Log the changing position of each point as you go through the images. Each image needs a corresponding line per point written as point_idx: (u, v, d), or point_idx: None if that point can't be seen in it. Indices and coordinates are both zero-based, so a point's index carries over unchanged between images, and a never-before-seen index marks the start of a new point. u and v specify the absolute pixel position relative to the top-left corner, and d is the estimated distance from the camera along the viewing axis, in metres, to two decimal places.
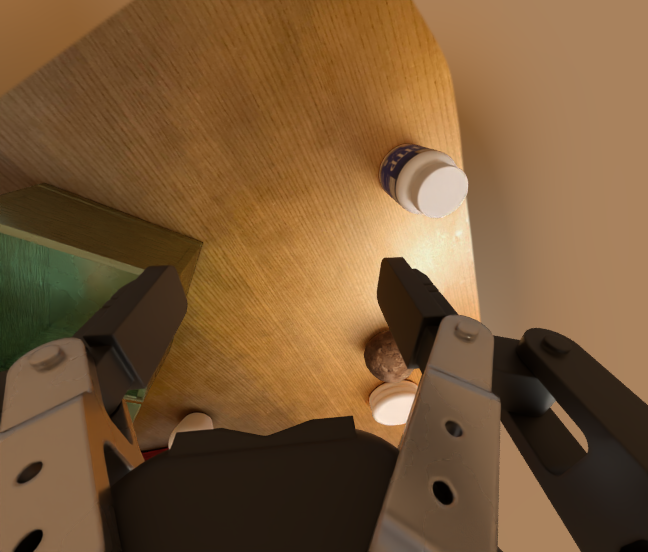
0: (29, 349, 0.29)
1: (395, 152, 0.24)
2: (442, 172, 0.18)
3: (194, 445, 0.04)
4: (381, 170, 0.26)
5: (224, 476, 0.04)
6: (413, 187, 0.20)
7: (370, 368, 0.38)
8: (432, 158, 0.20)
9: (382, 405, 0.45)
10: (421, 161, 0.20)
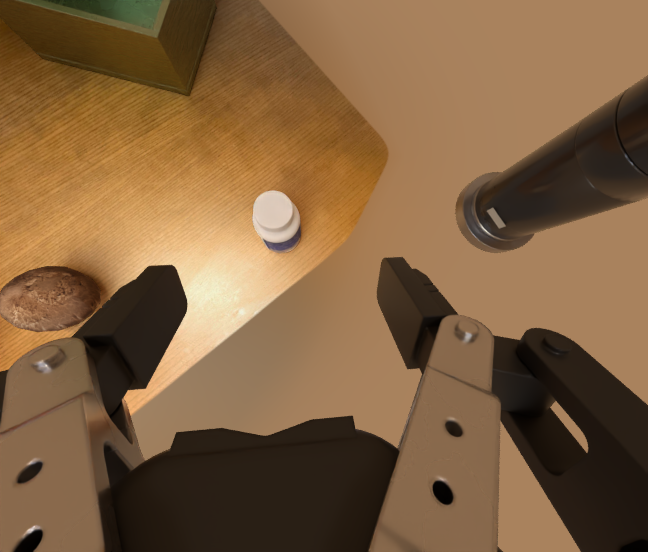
0: None
1: None
2: (287, 201, 0.25)
3: (194, 444, 0.04)
4: None
5: (224, 476, 0.04)
6: None
7: (28, 271, 0.27)
8: (294, 209, 0.28)
9: None
10: None
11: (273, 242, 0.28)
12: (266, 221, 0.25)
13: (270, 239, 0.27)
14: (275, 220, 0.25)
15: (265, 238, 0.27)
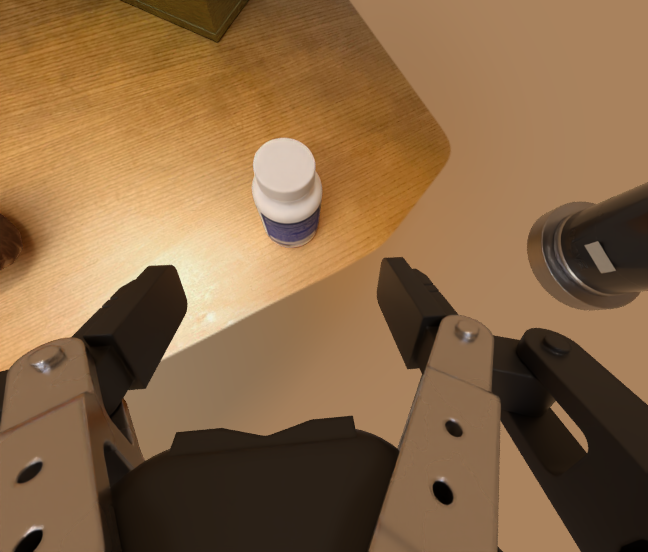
0: None
1: None
2: (308, 157, 0.16)
3: (194, 445, 0.04)
4: None
5: (224, 476, 0.04)
6: None
7: None
8: (316, 178, 0.18)
9: None
10: None
11: (275, 221, 0.18)
12: (269, 179, 0.16)
13: (271, 214, 0.18)
14: (284, 180, 0.16)
15: (264, 211, 0.18)
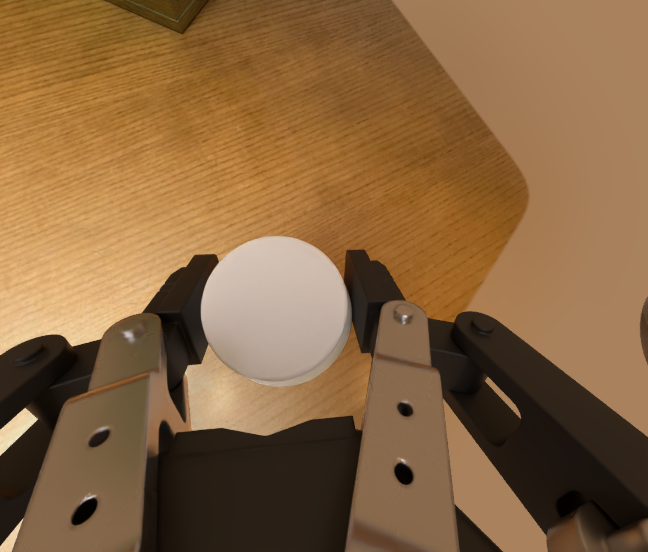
0: None
1: None
2: (331, 283, 0.07)
3: (194, 445, 0.04)
4: None
5: (224, 476, 0.04)
6: None
7: None
8: None
9: None
10: None
11: None
12: (239, 348, 0.06)
13: (251, 378, 0.09)
14: (274, 350, 0.07)
15: None
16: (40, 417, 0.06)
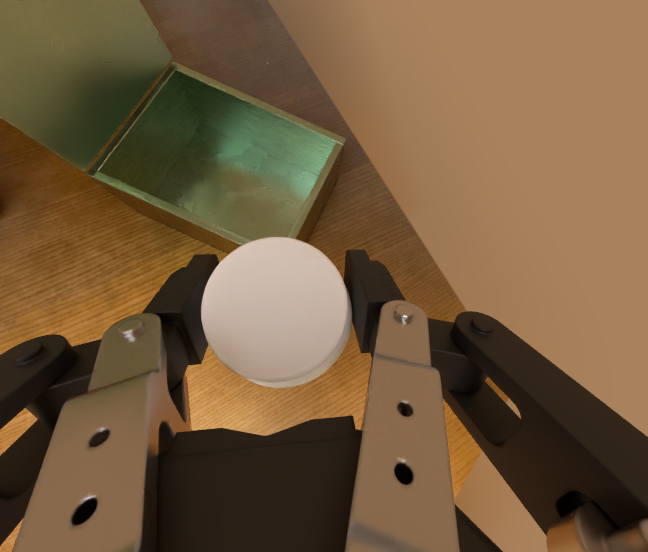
0: (187, 102, 0.29)
1: None
2: (331, 284, 0.07)
3: (194, 444, 0.04)
4: None
5: (224, 476, 0.04)
6: None
7: None
8: None
9: None
10: None
11: None
12: (240, 349, 0.06)
13: (251, 379, 0.09)
14: (275, 351, 0.07)
15: None
16: (40, 417, 0.06)
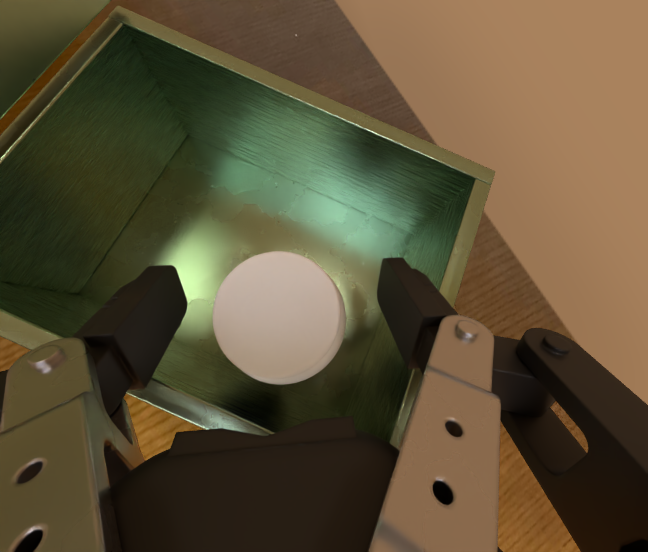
0: (156, 95, 0.15)
1: None
2: (326, 294, 0.08)
3: (194, 445, 0.04)
4: None
5: (224, 476, 0.04)
6: None
7: None
8: None
9: None
10: None
11: None
12: (246, 350, 0.07)
13: (254, 376, 0.10)
14: (276, 352, 0.08)
15: (242, 369, 0.10)
16: None
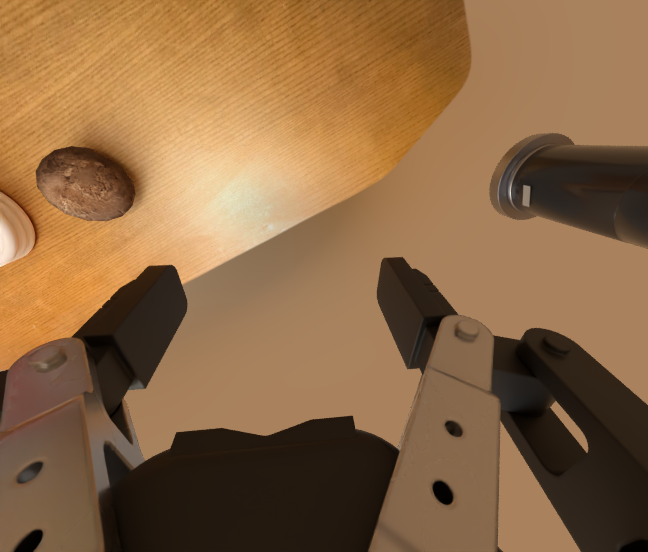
0: None
1: None
2: None
3: (195, 444, 0.04)
4: None
5: (224, 476, 0.04)
6: None
7: (55, 153, 0.25)
8: None
9: None
10: None
11: None
12: None
13: None
14: None
15: None
16: None
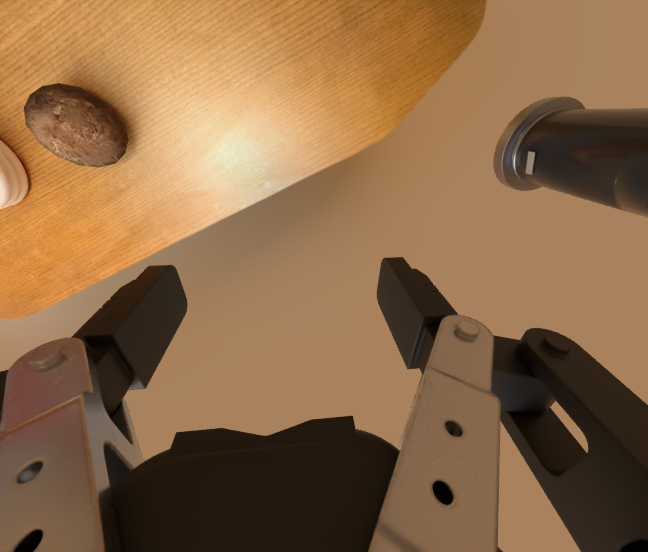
0: None
1: None
2: None
3: (194, 444, 0.04)
4: None
5: (224, 476, 0.04)
6: None
7: (43, 89, 0.24)
8: None
9: None
10: None
11: None
12: None
13: None
14: None
15: None
16: None
